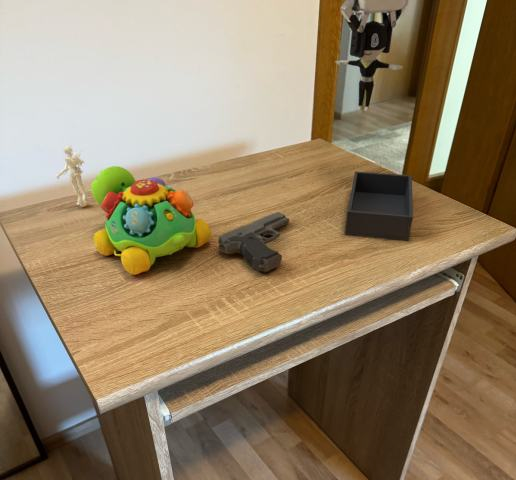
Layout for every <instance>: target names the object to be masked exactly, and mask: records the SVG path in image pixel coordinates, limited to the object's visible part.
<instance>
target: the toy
mask: <svg viewBox="0 0 516 480" xmlns="http://www.w3.org/2000/svg"><path fill="white" fill-rule="evenodd" d="M363 32H366V40H365V49H364V56H363V57H361V58H358V59H357V60H348V59H347V60H334V63H335V64H337V66H345V65H346V66H347V65H349V66H353V67H358V68H359V73H360V75H361V76H360V79H359V82H358V104H357V105H358V106H357V108H356V110H357V111H361V110H362V109H363V103H364V99H365V104H364V109H363V111H364V112H368V111H369V110H370V103H371V99H372V95H373V91H374V86H375V84H374V82H375V80H374V76H375V74H376V72H377V70H378V69H390V70H392V71H397V70H402V69H403V68H404V66H403V65H398V64H393V63H388V62H383V61H380V60H379V59H378V56H379V55H381V53H383V52H382V51H383V50H384V48H385V47H386V44H387V41H388V33H387V30H386V28H385V26H384V24H382V23H381V22H379V21H376V20H371V21H367V22H366V25H365V28H364V31H363Z"/></svg>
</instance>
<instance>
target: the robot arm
mask: <svg viewBox="0 0 516 480" xmlns="http://www.w3.org/2000/svg"><path fill="white" fill-rule="evenodd" d="M408 5H409V0H344V1H343V3H342V4H341V6H340V8H339V9H340V10H339V12H340V13H341V15H342V16H343V18H344V19H345V21H346V23H347V25H348V30H349V31H351V35H350V36H351V37H350V48H349V55H350V56H352V57H355V58H358V59H360V58H361V57H363V56H364V49H365V40H366V32H363V31H364V28H365V25H366V23H368V20H369V16H370V14H379V16H380V23H382V24H384V26H385V28H386V30H387V33H388V41H387V44H386V47H385V48H384V50H383V51H382V52H381V53H383V54H389V53H390V51H391V44H392V43H391V42H392V36H393V29H394V28H396V26H397V22H398V20H399V18H400V17H401V15H402V13H403V11H404V10H405V9H406V7H408Z"/></svg>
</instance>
